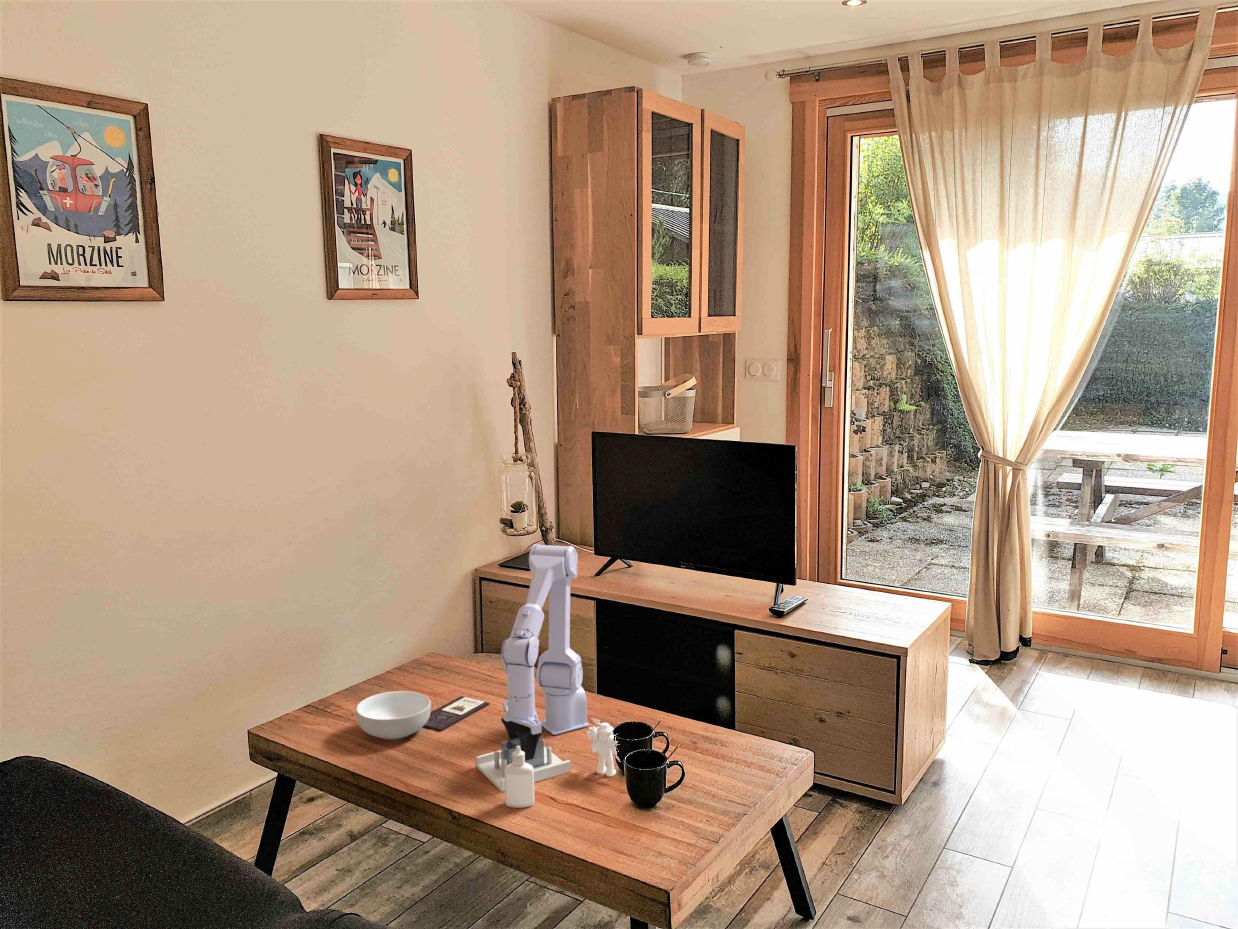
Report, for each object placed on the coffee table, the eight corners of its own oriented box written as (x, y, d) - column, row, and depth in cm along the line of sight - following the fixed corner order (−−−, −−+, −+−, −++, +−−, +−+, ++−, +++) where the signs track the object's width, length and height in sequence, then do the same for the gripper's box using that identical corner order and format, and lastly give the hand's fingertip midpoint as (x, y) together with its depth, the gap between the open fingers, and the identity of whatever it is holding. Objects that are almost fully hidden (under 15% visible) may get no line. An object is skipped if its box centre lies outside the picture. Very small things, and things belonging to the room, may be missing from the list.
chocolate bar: (412, 722, 227) (461, 696, 242) (412, 725, 227) (461, 699, 242) (441, 729, 222) (489, 702, 237) (441, 733, 222) (489, 706, 238)
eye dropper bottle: (525, 812, 185) (523, 753, 183) (501, 805, 188) (499, 748, 186) (538, 802, 189) (536, 745, 187) (514, 796, 192) (512, 739, 190)
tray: (543, 748, 212) (542, 730, 212) (571, 771, 202) (570, 752, 201) (476, 766, 204) (475, 748, 204) (501, 791, 193) (501, 771, 193)
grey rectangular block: (535, 757, 207) (534, 732, 206) (544, 764, 203) (543, 739, 202) (501, 766, 202) (500, 741, 202) (510, 774, 199) (509, 749, 198)
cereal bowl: (389, 755, 210) (388, 725, 209) (342, 736, 220) (340, 707, 219) (447, 729, 224) (445, 700, 223) (400, 712, 234) (398, 684, 233)
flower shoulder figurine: (583, 770, 202) (582, 716, 200) (595, 763, 205) (594, 710, 203) (617, 782, 197) (616, 727, 195) (629, 775, 200) (628, 720, 198)
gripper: (489, 686, 204) (491, 746, 206) (518, 708, 192) (520, 772, 194) (519, 679, 208) (521, 738, 210) (549, 701, 196) (551, 763, 198)
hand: (522, 754), depth 202 cm, fingers open, 5 cm apart
